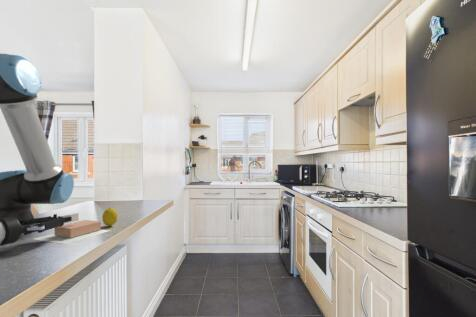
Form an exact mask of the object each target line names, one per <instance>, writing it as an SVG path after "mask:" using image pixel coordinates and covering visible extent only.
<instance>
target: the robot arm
mask: <svg viewBox="0 0 476 317" xmlns="http://www.w3.org/2000/svg"><path fill="white" fill-rule="evenodd" d="M41 85H42V80H41V76H40V73H39V71H38V69H37V68H36V66H35V65H34V64H33V62H31V61H29V60H28V59H27V58H25V57H23V56H21V55H17V54H7V53H0V110H1V113H2V116H3V118H4V120H5V122H6V124H7V127H8V130H9V131H10V133H11V136H12V139H13V140H14V143H15V146H16V148H17V150H18V152H19V155H20V158H21V160H22V162H23V165H24V167H25V169H20V170H18V169H17V170H8V171H0V246H7V245H9V244H10V245H11V244H14V243H16V242H17V241H19V239H20V238H21V236H22V234H23V235H25V236H26V235H31V234H33V233H36V232H37V233H38V234H39V233H43V232H45V231H49V230H53V229H55V228H56V227H62V226H63V225H65V224H70V223H74V222H79V216H80V213H79V212H74V213H73V212H72V213H68V214H62V215H58V214H57V213H56V214H53V216H51V215H50V216H44V217H43V216H42V217H37V218H35V217H34V214H33V211H32V205H47V204H48V205H55V204H63V203H66V202H67V201H68V200H69V198H70V197H71V196H72V194H73V190H74V185H75V181H74V177H73V175H72V174H70V173H68V172H64V170H63V167H62V165H60V164H57V163H56V162H55V159H54V156H53V153H52V151H51V148H50V145H49V143H48V139H47V136H46V133H45V131H44V129H43V125H42V122H41V119H40V117H39V114H38V111H37V109H36V105H35V102H36V100H37V99H38V95H37V94H38V93H39V92H40V91H41V88H42V86H41Z"/></svg>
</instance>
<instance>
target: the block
mask: <svg viewBox="0 0 476 317" xmlns="http://www.w3.org/2000/svg"><path fill="white" fill-rule="evenodd" d="M101 228H102V222H101V221H99V220H89V219H84V220H80V221H79V220H78V221H74V222H69V223H65V224H64V225H63V226H62V227H56V228H54V233H53V234H54V235H55V236H58V237H65V238H74V237H78V236H81V235H85V234H88V233H92V232H96V231H99V230H100V229H101Z"/></svg>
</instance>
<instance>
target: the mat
mask: <svg viewBox="0 0 476 317" xmlns="http://www.w3.org/2000/svg"><path fill="white" fill-rule="evenodd" d="M107 232H112V230H110V229H109V230H108V229H100V230H99V231H96V232H92V233H88V234H85V235H81V236H78V237H74V238H65V237H58V236H55V235H54V234H55V233H52V234H47V235H42V236H39V237H35V238H33V240H34V241H35V240H36V241H41V242H47V243H55V244H62V245H68V244H70V243H75V242H77V241H81V240H85V239H88V238H91V237H95V236H98V235H102V234H104V233H107Z"/></svg>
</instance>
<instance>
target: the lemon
mask: <svg viewBox="0 0 476 317" xmlns="http://www.w3.org/2000/svg"><path fill="white" fill-rule="evenodd" d="M117 221H118V212H117V210H116V209H114V208H112V207H109V208H107V209H106V210H104V211H103V214H102V223H103V224H104V225H105V226H107V227H108V228H111V227H112V226H113V225H115V224H116V223H117Z"/></svg>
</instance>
